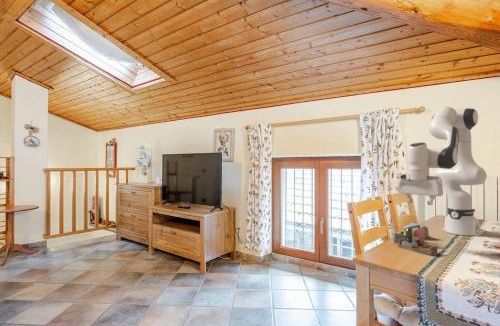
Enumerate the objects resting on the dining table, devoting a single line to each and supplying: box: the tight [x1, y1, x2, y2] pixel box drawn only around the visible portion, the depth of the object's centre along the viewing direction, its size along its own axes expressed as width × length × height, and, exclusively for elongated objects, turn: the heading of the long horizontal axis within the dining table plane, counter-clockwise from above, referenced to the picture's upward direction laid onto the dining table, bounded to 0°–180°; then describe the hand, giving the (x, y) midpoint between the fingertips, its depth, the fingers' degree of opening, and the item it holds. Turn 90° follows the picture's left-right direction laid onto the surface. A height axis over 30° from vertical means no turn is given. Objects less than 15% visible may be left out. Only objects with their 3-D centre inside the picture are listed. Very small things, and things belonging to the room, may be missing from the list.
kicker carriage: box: [402, 227, 425, 248], centre depth 139 cm, size 13×5×9 cm, turn 119°
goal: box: [393, 224, 421, 244], centre depth 147 cm, size 12×7×9 cm, turn 119°
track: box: [397, 238, 438, 257], centre depth 133 cm, size 5×16×4 cm, turn 29°
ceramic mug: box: [407, 222, 430, 239], centre depth 156 cm, size 11×8×8 cm
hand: (420, 203), depth 137 cm, fingers open, 8 cm apart
